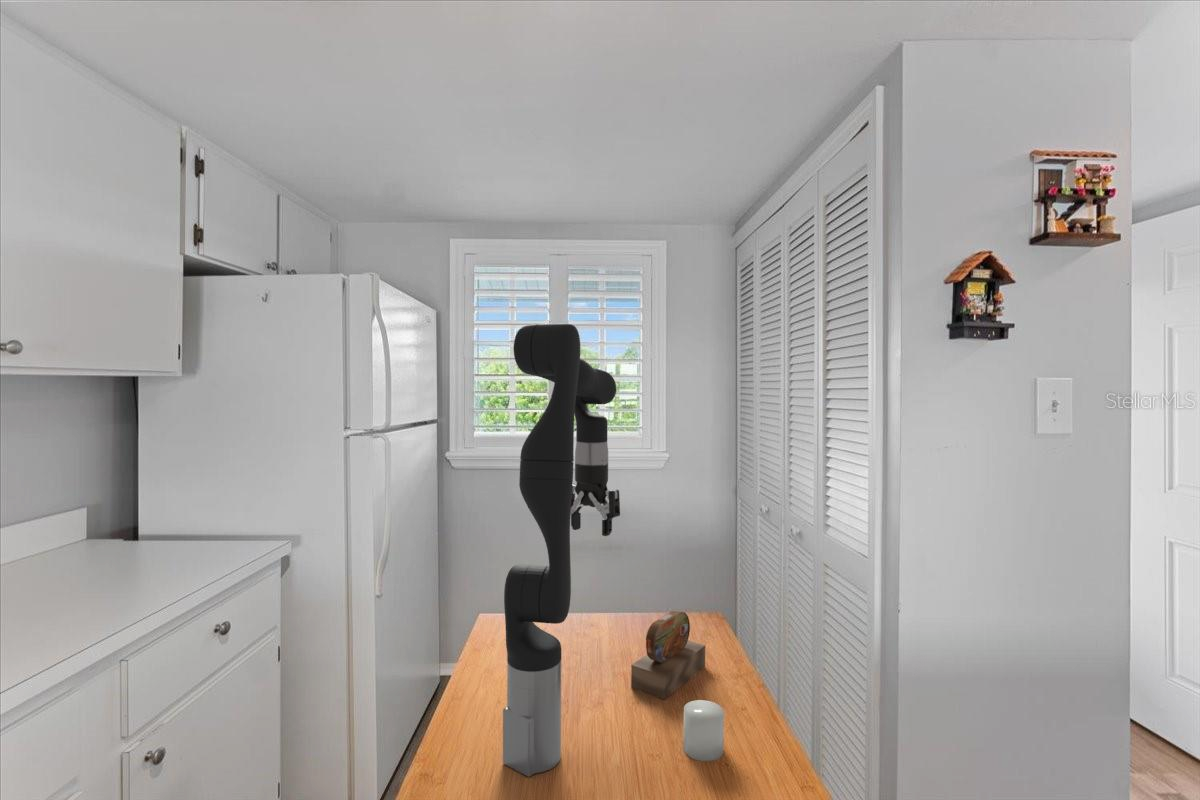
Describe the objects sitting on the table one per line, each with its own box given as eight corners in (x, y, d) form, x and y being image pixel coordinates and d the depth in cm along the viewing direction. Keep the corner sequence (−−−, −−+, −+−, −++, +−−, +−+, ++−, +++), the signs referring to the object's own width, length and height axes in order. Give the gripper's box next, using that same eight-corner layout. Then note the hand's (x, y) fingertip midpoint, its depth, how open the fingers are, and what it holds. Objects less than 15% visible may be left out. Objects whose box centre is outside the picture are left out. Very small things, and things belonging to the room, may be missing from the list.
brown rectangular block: (663, 700, 127) (664, 676, 127) (631, 688, 132) (631, 664, 132) (704, 667, 142) (705, 645, 141) (674, 657, 146) (674, 636, 146)
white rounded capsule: (713, 766, 106) (713, 726, 106) (676, 751, 110) (676, 712, 110) (729, 746, 112) (730, 708, 111) (693, 733, 116) (694, 696, 115)
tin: (655, 669, 130) (656, 629, 129) (642, 664, 132) (643, 625, 131) (691, 644, 142) (691, 607, 141) (678, 640, 144) (679, 604, 143)
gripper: (556, 460, 143) (556, 530, 143) (607, 466, 134) (606, 541, 135) (577, 456, 149) (577, 524, 149) (627, 462, 140) (626, 534, 141)
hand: (591, 532), depth 142 cm, fingers open, 8 cm apart
